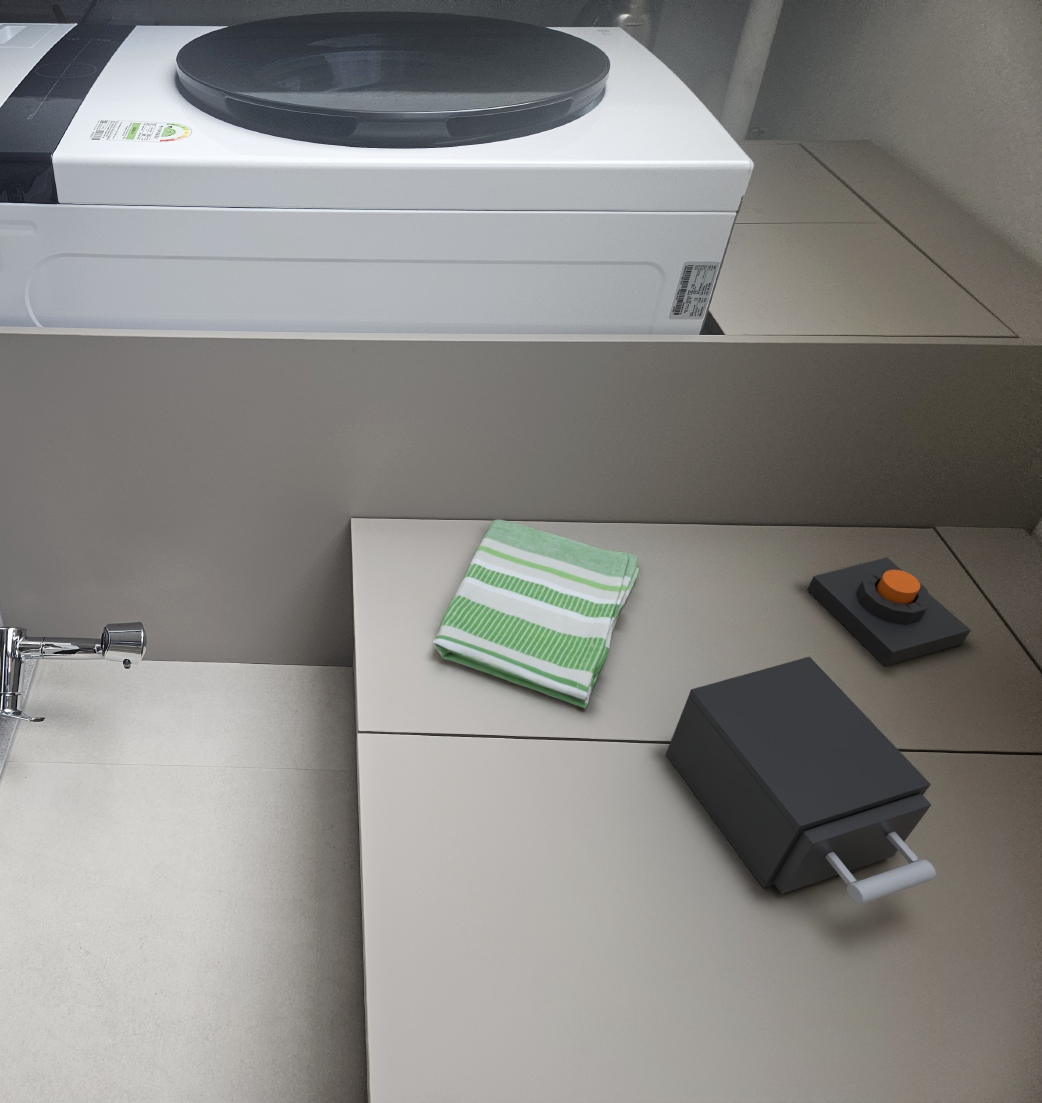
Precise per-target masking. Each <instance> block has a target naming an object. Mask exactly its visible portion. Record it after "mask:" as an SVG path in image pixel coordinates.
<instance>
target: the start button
mask: <svg viewBox="0 0 1042 1103" xmlns="http://www.w3.org/2000/svg"><path fill="white" fill-rule="evenodd" d="M919 582H920V581H919V579H918V578H917V577H916V576H914V575H913V574H911V573H909V572H906V571H904V570H902V571H900V570H889V571H886V572H885V573H884V574H883V576H882V578H881V580H880V582H879V583H878V585H877V591H878V593H879V594H880V595H881V596H883V597H884V598H885V599H888V600H890V601H892V602H894V603H900V604H908V603H911V602H912V601H913V600H914V598H915V596H916V595H917V593H918V591H919V589H920V583H921V582H920V583H919Z"/></svg>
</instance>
